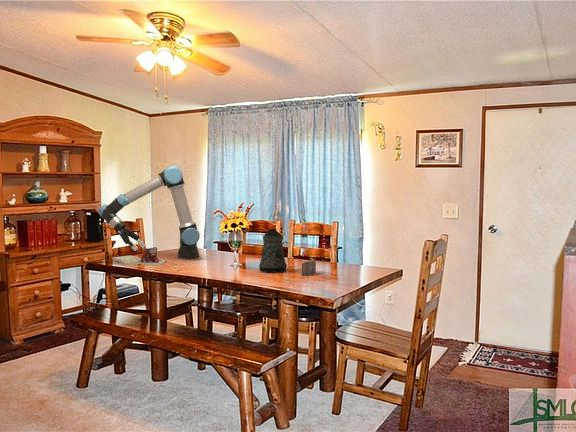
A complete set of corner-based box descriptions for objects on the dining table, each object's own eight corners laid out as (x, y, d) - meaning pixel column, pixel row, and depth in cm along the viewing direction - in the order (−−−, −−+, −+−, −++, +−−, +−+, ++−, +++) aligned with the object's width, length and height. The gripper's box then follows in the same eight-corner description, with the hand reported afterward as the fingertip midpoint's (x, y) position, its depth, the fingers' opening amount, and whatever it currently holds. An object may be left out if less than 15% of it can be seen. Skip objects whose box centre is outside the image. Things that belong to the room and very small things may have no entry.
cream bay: (112, 259, 343) (112, 257, 343) (130, 257, 352) (130, 255, 352) (122, 262, 330) (122, 260, 329) (141, 260, 338) (141, 258, 338)
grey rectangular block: (311, 273, 299) (311, 256, 298) (315, 273, 297) (315, 257, 296) (300, 276, 290) (301, 259, 289) (305, 276, 288) (305, 259, 287)
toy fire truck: (138, 264, 324) (138, 248, 323) (153, 262, 334) (152, 246, 333) (146, 265, 320) (145, 249, 319) (160, 262, 331) (160, 247, 330)
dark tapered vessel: (273, 274, 292) (273, 231, 291) (250, 270, 305) (250, 229, 303) (292, 270, 305) (292, 229, 303) (268, 266, 317) (268, 227, 316)
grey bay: (166, 262, 333) (166, 259, 333) (159, 265, 320) (159, 263, 320) (139, 261, 334) (139, 259, 334) (132, 265, 321) (132, 262, 321)
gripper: (121, 226, 339) (143, 249, 339) (105, 230, 315) (129, 255, 314) (129, 219, 339) (151, 241, 338) (113, 222, 314) (137, 246, 314)
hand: (140, 248), depth 326 cm, fingers open, 13 cm apart
